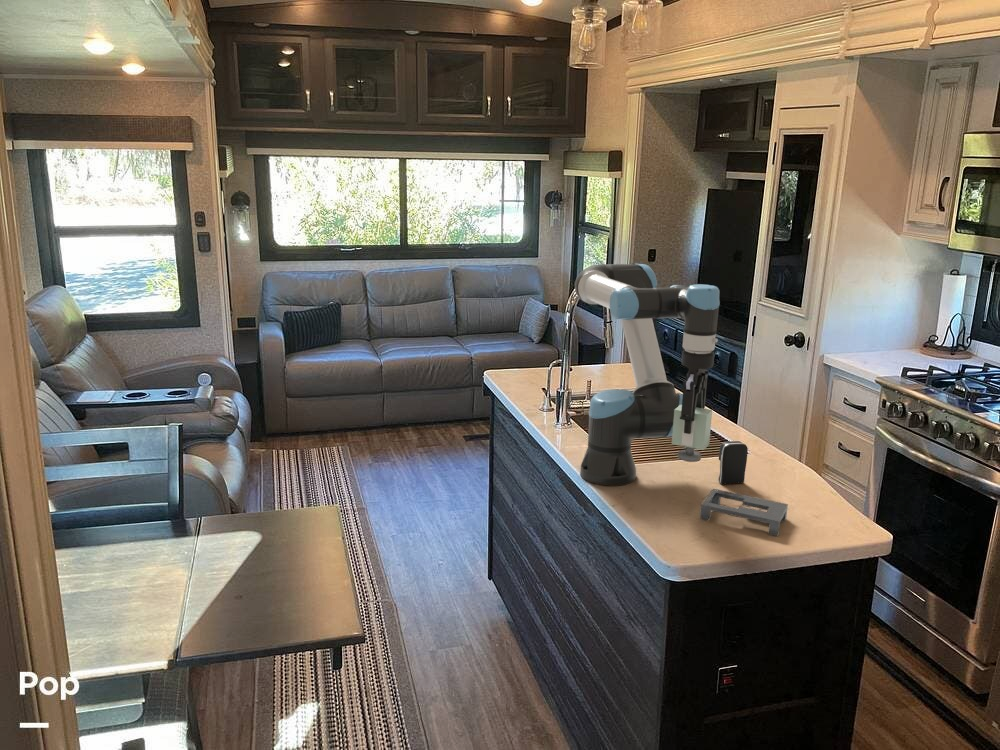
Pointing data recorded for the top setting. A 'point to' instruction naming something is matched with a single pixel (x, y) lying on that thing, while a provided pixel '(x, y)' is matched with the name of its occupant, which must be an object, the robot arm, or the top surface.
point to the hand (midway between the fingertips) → (690, 441)
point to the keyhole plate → (746, 509)
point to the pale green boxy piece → (700, 433)
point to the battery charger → (732, 462)
